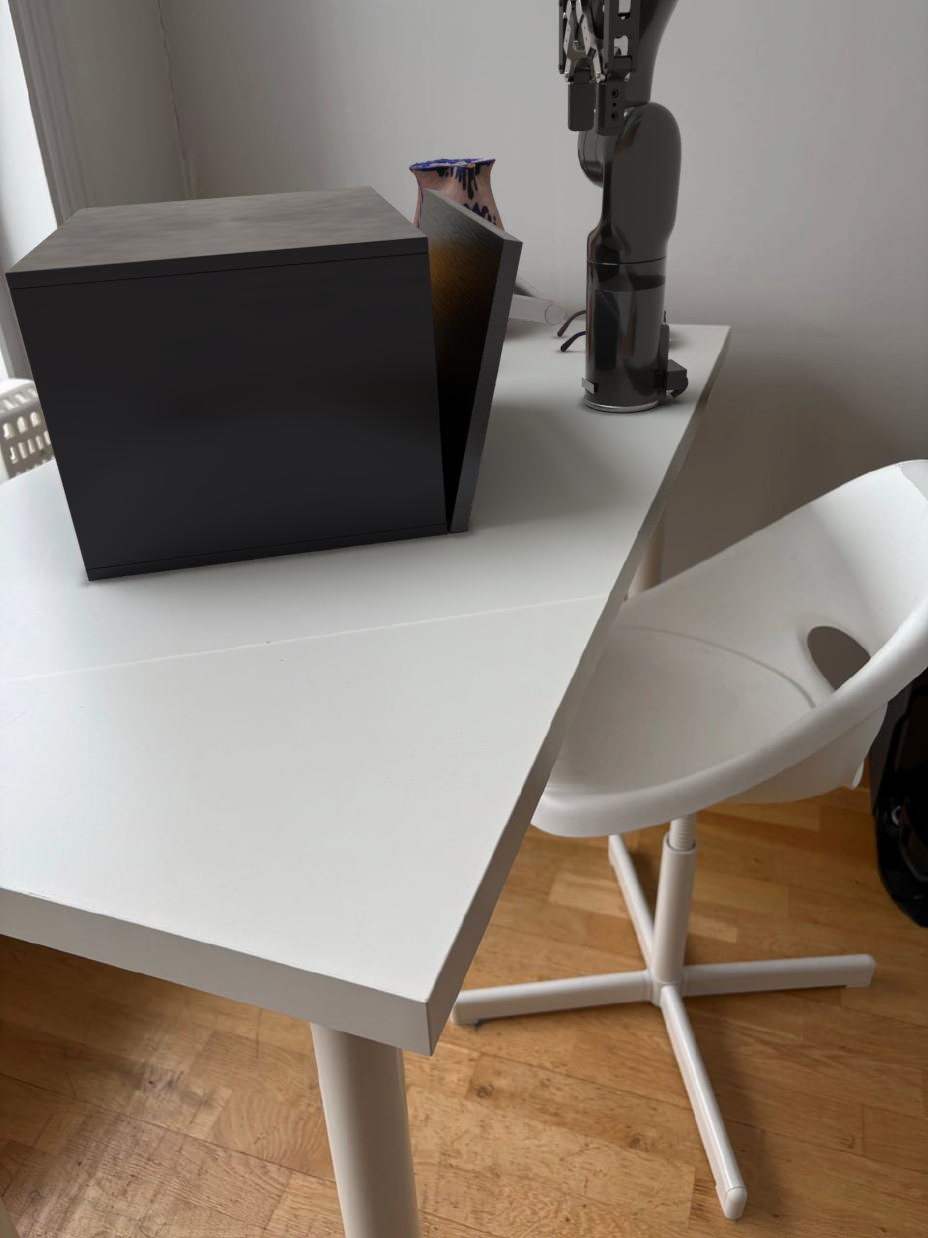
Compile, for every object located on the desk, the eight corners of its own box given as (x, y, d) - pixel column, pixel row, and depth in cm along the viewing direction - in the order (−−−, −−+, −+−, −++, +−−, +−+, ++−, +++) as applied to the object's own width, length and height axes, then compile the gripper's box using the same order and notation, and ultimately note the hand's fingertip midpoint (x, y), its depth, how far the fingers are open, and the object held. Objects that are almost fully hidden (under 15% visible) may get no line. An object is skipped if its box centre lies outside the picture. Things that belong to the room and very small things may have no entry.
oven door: (453, 412, 126) (491, 199, 115) (532, 539, 92) (597, 254, 81) (392, 405, 124) (424, 188, 113) (450, 531, 90) (504, 238, 78)
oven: (390, 407, 124) (370, 185, 112) (447, 535, 90) (427, 236, 77) (132, 436, 120) (80, 208, 107) (88, 582, 86) (4, 272, 73)
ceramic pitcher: (439, 352, 147) (427, 169, 134) (383, 326, 163) (368, 161, 151) (539, 333, 153) (536, 158, 141) (475, 310, 170) (468, 151, 158)
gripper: (680, -122, 70) (667, 134, 78) (615, -92, 82) (609, 126, 90) (579, -119, 69) (576, 140, 77) (528, -90, 81) (530, 131, 89)
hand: (594, 132), depth 83 cm, fingers open, 7 cm apart
